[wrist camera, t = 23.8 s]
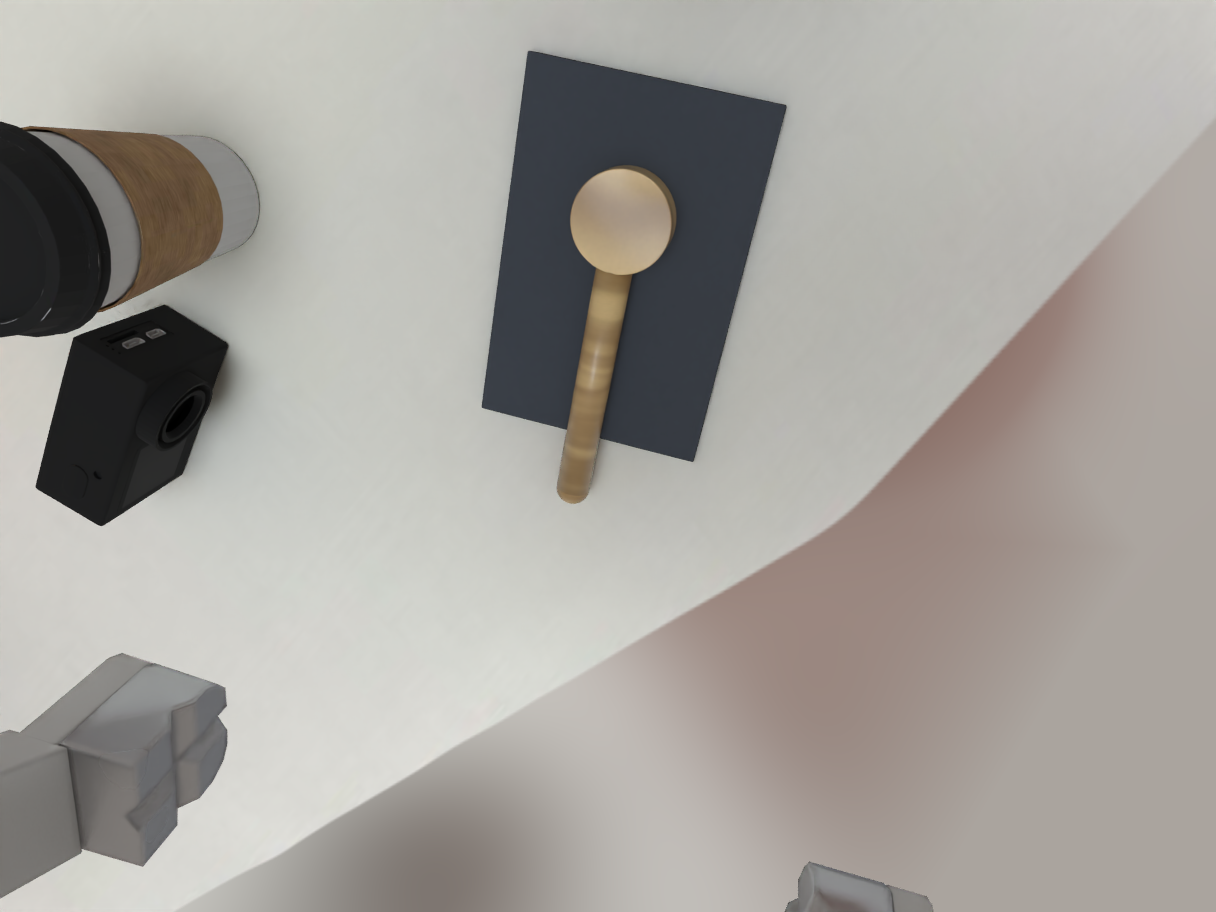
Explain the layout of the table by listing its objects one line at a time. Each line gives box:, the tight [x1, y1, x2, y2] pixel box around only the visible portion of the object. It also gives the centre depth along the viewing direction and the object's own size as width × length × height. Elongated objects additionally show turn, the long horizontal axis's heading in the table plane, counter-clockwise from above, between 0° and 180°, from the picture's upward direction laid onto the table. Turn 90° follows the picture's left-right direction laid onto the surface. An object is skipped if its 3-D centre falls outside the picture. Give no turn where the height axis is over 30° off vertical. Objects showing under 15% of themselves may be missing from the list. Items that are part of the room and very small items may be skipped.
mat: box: [482, 51, 786, 462], centre depth 41 cm, size 18×12×1 cm, turn 169°
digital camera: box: [36, 305, 228, 526], centre depth 47 cm, size 10×5×7 cm, turn 150°
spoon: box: [557, 165, 676, 504], centre depth 42 cm, size 18×5×2 cm, turn 169°
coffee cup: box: [0, 122, 259, 337], centre depth 37 cm, size 8×8×15 cm
